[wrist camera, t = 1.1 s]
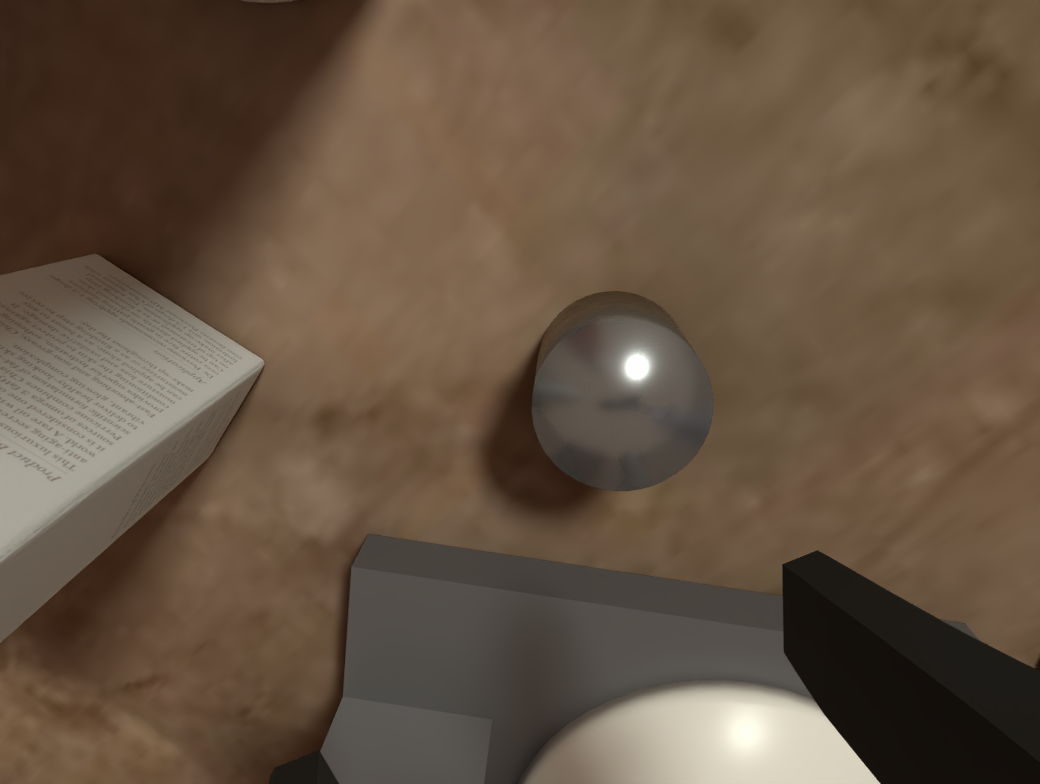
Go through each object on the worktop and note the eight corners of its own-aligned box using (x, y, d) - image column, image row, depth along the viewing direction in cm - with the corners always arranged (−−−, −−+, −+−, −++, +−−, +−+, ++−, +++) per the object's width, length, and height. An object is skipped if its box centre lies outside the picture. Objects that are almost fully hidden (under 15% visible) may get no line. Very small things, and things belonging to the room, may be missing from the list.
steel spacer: (701, 303, 21) (732, 335, 17) (670, 443, 22) (692, 502, 18) (548, 280, 21) (545, 308, 17) (528, 422, 22) (520, 477, 18)
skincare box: (46, 360, 22) (-483, 569, 11) (98, 248, 21) (-438, 356, 10) (214, 464, 23) (-119, 756, 12) (274, 362, 22) (-33, 581, 11)
